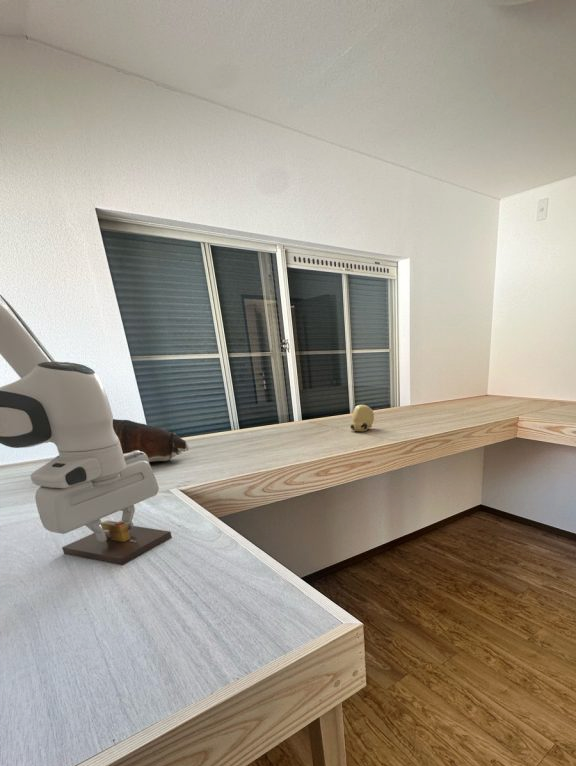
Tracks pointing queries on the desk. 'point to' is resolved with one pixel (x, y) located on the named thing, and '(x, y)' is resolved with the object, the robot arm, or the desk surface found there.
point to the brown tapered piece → (148, 440)
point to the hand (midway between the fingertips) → (116, 534)
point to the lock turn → (116, 530)
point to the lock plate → (118, 546)
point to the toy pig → (362, 418)
